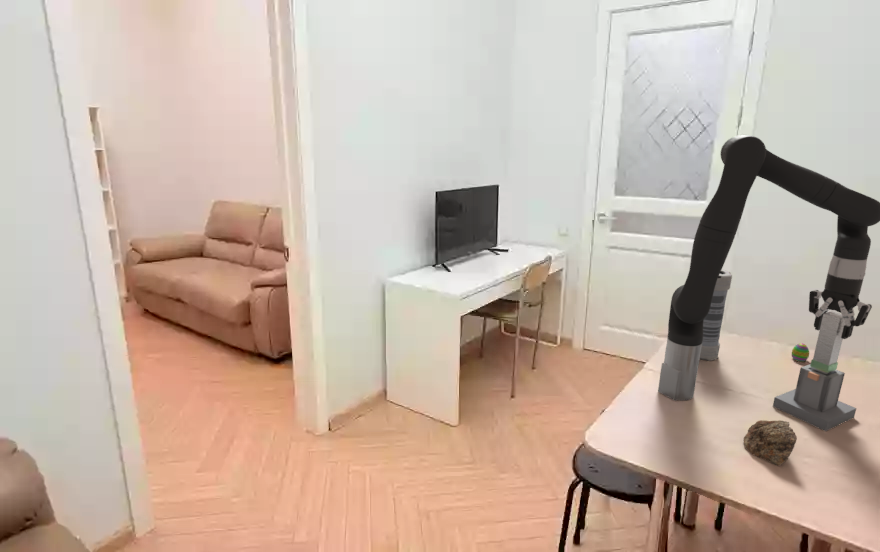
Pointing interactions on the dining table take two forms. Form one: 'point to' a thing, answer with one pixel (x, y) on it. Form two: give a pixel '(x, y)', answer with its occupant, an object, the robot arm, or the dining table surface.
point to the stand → (816, 399)
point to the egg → (800, 352)
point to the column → (828, 344)
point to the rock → (770, 440)
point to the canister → (715, 318)
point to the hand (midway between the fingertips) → (831, 333)
